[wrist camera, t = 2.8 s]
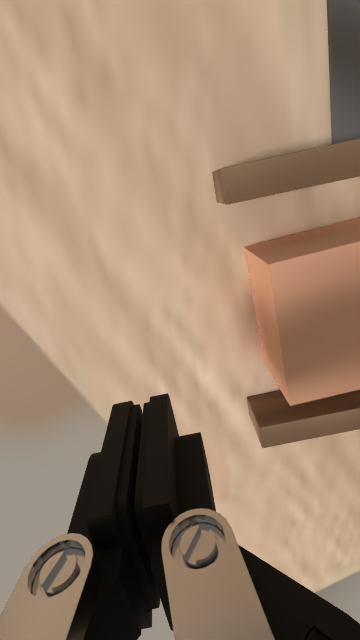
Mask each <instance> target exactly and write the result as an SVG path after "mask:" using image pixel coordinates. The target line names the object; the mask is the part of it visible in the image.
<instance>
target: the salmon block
mask: <svg viewBox="0 0 360 640" xmlns="http://www.w3.org/2000/svg"><path fill="white" fill-rule="evenodd" d="M244 253H245V258H246V264H247V270H248V275H249V281H250V286H251V292H252V298H253V303H254V309H255V315H256V320H257V326H258V332H259V337H260V343H261V349H262V354H263V360H264V363H265V365H266V366H267V368H268V370H269V371H270V373H271V375H272V376H273V378H274V380H275V381H276V383H277V385H278V387H279V388H280V390H281V392H282V393H283V395H284V397H285V398H286V400H287V402H288V403H289V405H290V406H292V405H296V404H300V403H304V402H309V401H313V400H317V399H321V398H326V397H330V396H334V395H338V394H343V393H347V392H351V391H355V390H359V389H360V217H359V218H355V219H351V220H347V221H343V222H339V223H336V224H332V225H328V226H324V227H320V228H316V229H312V230H308V231H304V232H300V233H297V234H293V235H289V236H285V237H281V238H277V239H273V240H269V241H265V242H261V243H258V244H254V245H250V246H246V247H244Z"/></svg>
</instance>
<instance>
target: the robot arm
mask: <svg viewBox="0 0 360 640" xmlns="http://www.w3.org/2000/svg"><path fill="white" fill-rule="evenodd" d="M160 598H161V601H162V604H163V607H164V610H165V613H166V617H167V620H168V623H169V626H170V629H171V630H172V631H173V632H174V637H175V640H360V624H359V623H358V622H357V621H355V620H354V619H353V618H352V617H350V616H349V615H348V614H346V613H345V612H343V611H341V610H340V609H338V608H337V607H335V606H334V605H332V604H331V603H329V602H328V601H326V600H324V599H323V598H321V597H319V596H318V595H316V594H315V593H313V592H312V591H310V590H309V589H307V588H305V587H304V586H302V585H301V584H299V583H298V582H296V581H294V580H293V579H291V578H290V577H288V576H287V575H285V574H283V573H282V572H280V571H279V570H277V569H276V568H274V567H272V566H271V565H269V564H268V563H266V562H265V561H263V560H261V559H260V558H258V557H257V556H255V555H254V554H252V553H250V552H249V551H247V550H246V549H244V548H243V547H241V546H239V545H238V544H237V541H236V538H235V536H234V533H233V531H232V528H231V526H230V525H229V523H228V521H227V520H226V519H225V518H224V517H223V516H222V515H221V514H219V513H218V512H216V509H215V503H214V497H213V491H212V485H211V480H210V474H209V469H208V464H207V459H206V454H205V450H204V445H203V441H202V436H201V433H200V432H199V433H194V434H189V435H184V436H179V434H178V430H177V426H176V422H175V418H174V414H173V410H172V406H171V402H170V398H169V395H168V394H163V395H158V396H153V397H150V402H148V403H144V407H143V413H142V410H141V407H140V405H139V404H138V405H134V404H133V402H132V401H128V402H123V403H118V404H114V405H113V407H112V411H111V415H110V419H109V423H108V427H107V431H106V435H105V439H104V443H103V447H102V450H101V452H99V453H94V454H92V455H91V456H90V458H89V461H88V465H87V468H86V471H85V475H84V478H83V482H82V485H81V488H80V492H79V495H78V499H77V502H76V506H75V509H74V513H73V516H72V519H71V523H70V526H69V530H68V533H67V534H65V535H61V536H59V537H56V538H54V539H52V540H50V541H49V542H47V543H46V544H45V545H43V546H42V547H41V548H40V549H39V550H38V551H37V552H36V553H35V554H34V555H33V556H32V557H31V559H30V560H29V562H28V563H27V565H26V566H25V568H24V570H23V572H22V574H21V576H20V578H19V580H18V582H17V584H16V585H15V588H14V589H13V592H12V593H11V595H10V597H9V599H8V601H7V603H6V605H5V607H4V609H3V611H2V613H1V615H0V640H137V639H138V638H139V636H140V635H141V629H144V628H150V627H152V609H155V608H159V605H160Z"/></svg>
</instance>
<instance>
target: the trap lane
mask: <svg viewBox="0 0 360 640" xmlns="http://www.w3.org/2000/svg"><path fill="white" fill-rule="evenodd" d="M327 16H328V45H329V73H330V101H331V130H332V145H328V146H323V147H319V148H314V149H310V150H305V151H300V152H296V153H291V154H287V155H282V156H277V157H273V158H268V159H264V160H259V161H254V162H250V163H245V164H241V165H236V166H231V167H227V168H222V169H219V170H217V171H214V172H212V173H213V179H214V186H215V192H216V199H217V202H219V203H224V204H232V203H237V202H241V201H246V200H250V199H255V198H260V197H264V196H269V195H274V194H278V193H283V192H288V191H292V190H297V189H302V188H306V187H311V186H316V185H320V184H325V183H330V182H334V181H339V180H344V179H348V178H353V177H358V176H360V0H327ZM247 401H248V407H249V414H250V418H251V420H252V423H253V425H254V428H255V430H256V433H257V435H258V438H259V440H260V443H261V446H262V448H266V447H271V446H276V445H281V444H286V443H291V442H296V441H301V440H306V439H312V438H317V437H322V436H327V435H332V434H337V433H342V432H347V431H352V430H357V429H360V389H359V390H355V391H351V392H347V393H343V394H338V395H334V396H330V397H326V398H321V399H317V400H313V401H309V402H304V403H300V404H296V405H292V406H290V405H289V403H288V402H287V400H286V398H285V397H284V395H283V393H282V392H281V391H276V392H271V393H266V394H261V395H256V396H251V397H247Z"/></svg>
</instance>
